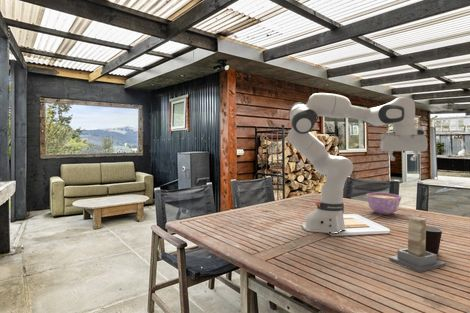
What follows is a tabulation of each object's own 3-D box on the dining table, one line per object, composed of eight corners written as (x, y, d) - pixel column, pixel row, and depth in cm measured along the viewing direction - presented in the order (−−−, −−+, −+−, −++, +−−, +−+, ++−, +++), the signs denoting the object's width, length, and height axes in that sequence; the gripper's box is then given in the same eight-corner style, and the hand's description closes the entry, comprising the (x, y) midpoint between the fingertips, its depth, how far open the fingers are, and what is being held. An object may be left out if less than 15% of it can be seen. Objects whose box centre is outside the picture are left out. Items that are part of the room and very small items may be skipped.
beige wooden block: (417, 262, 104) (419, 220, 104) (407, 258, 108) (408, 217, 107) (425, 261, 106) (426, 219, 105) (414, 257, 110) (415, 216, 109)
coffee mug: (442, 257, 111) (443, 233, 111) (416, 253, 116) (417, 229, 116) (439, 248, 121) (440, 225, 121) (416, 244, 126) (416, 222, 125)
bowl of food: (407, 216, 173) (408, 198, 172) (375, 217, 173) (375, 198, 173) (390, 209, 193) (390, 192, 192) (361, 209, 193) (361, 192, 193)
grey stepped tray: (419, 272, 99) (419, 261, 99) (389, 259, 110) (389, 249, 110) (445, 265, 104) (445, 255, 104) (413, 254, 115) (414, 244, 115)
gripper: (383, 131, 132) (383, 161, 132) (429, 131, 130) (429, 161, 131) (378, 132, 138) (377, 160, 139) (422, 131, 136) (421, 160, 137)
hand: (402, 160), depth 135 cm, fingers open, 8 cm apart
